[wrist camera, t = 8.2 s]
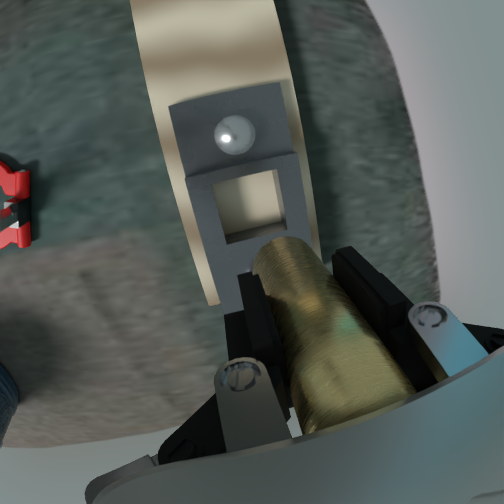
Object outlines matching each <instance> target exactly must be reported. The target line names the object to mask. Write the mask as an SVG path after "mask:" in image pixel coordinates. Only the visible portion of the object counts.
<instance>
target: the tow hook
mask: <svg viewBox="0 0 504 504" xmlns="http://www.w3.org/2000/svg"><path fill="white" fill-rule="evenodd" d="M0 185H1V186H2V188H3V190H4V192H5V194H6V195H10V196H15V197H14V198H12V199H10V200H7V201H5V202H4V209H3V210H1V211H0V249H2V248H5V247H6V246H7V245H9V244H10V243H11V242H12V243H17V244H18V247H21V248H25V247H29V246H30V245H31V232H30V220H31V198H30V196H29V189H30V170H26V169H21V170H17V171H15V172H12V171H11V169H10V168H9V167H8V166H7V165H6V164H5V163H3V162H2V161H0Z"/></svg>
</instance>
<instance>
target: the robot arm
mask: <svg viewBox="0 0 504 504" xmlns="http://www.w3.org/2000/svg"><path fill="white" fill-rule="evenodd" d="M332 266H333V276H334V278H335V279H336V280H337V282H338V283H339V284H340V286H341V287H342V288H343V290H344V291H345V292H346V294H347V295H348V296H349V297H350V299H351V300H352V301H353V303H354V304H355V305H356V307H357V308H358V309H359V311H360V312H361V314H362V315H363V316H364V318H365V319H366V320H367V322H368V323H369V324H370V326H371V327H372V328H373V330H374V331H375V333H376V334H377V335H378V337H379V338H380V339H381V341H382V342H383V344H384V345H385V346H386V348H387V349H388V351H389V352H390V353H391V355H392V356H393V358H394V359H395V360H396V362H397V363H398V365H399V366H400V368H401V369H402V370H403V372H404V373H405V375H406V376H407V378H408V379H409V380H410V382H411V383H412V385H413V386H414V388H415V389H416V391H417V392H418V393H416V394H414V395H412V396H410V397H407V398H405V399H403V400H401V401H398V402H396V403H394V404H391V405H389V406H386V407H384V408H381V409H379V410H376V411H374V412H371V413H369V414H366V415H363V416H361V417H358V418H355V419H352V420H349V421H347V422H344V423H341V424H338V425H335V426H332V427H329V428H325V429H322V430H319V431H316V432H312V433H309V434H305V435H302V436H299V437H295V438H292V436H291V434H290V431H289V428H288V425H287V421H288V420H289V419H290V417H291V416H290V411H289V408H292V407H294V405H293V402H292V399H291V395H290V392H289V389H288V386H287V382H286V370H287V368H286V363H285V358H284V353H283V348H282V344H281V340H280V336H279V333H278V330H277V327H276V324H275V321H274V318H273V315H272V312H271V309H270V306H269V303H268V300H267V297H266V294H265V291H264V288H263V285H262V282H261V279H260V276H259V274H255V275H253V274H252V271H251V272H247V273H243V274H238V275H237V277H238V282H239V287H240V292H241V297H242V302H243V307H244V310H241V311H237V312H232V313H228V314H224V320H225V330H226V339H227V348H228V357H229V361H228V362H227V363H225V364H224V365H222V366H221V367H220V368H219V369H218V370H217V372H216V374H215V376H214V386H215V392H216V393H215V394H214V395H213V396H212V397H211V398H210V399H209V400H208V401H207V402H206V403H205V404H204V405H203V406H202V407H201V408H200V409H198V410H197V411H196V412H195V413H194V414H193V415H192V416H191V417H190V418H189V419H188V420H187V421H186V422H185V423H184V424H183V425H182V426H180V427H179V429H177V430H176V431H175V432H174V433H173V434H172V435H171V436H170V437H169V438H168V439H166V440H165V441H164V443H163V444H162V445H161V447H160V449H159V451H158V454H156V455H154V456H152V457H150V456H149V455H146V456H144V457H142V458H140V459H137V460H135V461H133V462H131V463H129V464H126V465H124V466H122V467H120V468H118V469H116V470H113V471H111V472H109V473H106V474H104V475H101V476H99V477H97V478H95V479H93V480H92V481H91V482H90V483H89V484H88V486H87V487H86V491H85V500H86V503H87V504H504V330H503V329H499V328H492V327H485V326H479V325H472V324H466V323H461V322H460V321H459V320H458V319H457V317H456V316H455V315H454V314H453V313H452V312H451V311H450V310H449V309H448V308H447V307H446V306H444V305H442V304H440V303H437V302H422V303H418V304H416V305H414V304H413V303H412V302H411V301H410V300H409V299H408V298H407V297H406V296H405V295H404V294H403V293H402V292H401V291H400V290H399V289H398V288H397V287H396V286H395V285H394V284H393V283H392V282H391V281H390V280H389V279H388V278H387V277H385V276H384V275H383V274H382V273H379V272H378V271H377V270H376V269H375V268H374V267H373V266H372V265H371V264H370V263H369V262H368V261H367V260H365V259H364V258H363V257H362V256H361V255H360V254H359V253H358V252H357V251H356V250H355V249H354V248H353V247H351V246H348V247H345V248H341V249H337V250H336V254H333V255H332Z"/></svg>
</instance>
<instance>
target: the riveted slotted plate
mask: <svg viewBox="0 0 504 504" xmlns="http://www.w3.org/2000/svg"><path fill="white" fill-rule="evenodd" d="M168 109H169V113H170V117H171V121H172V125H173V130H174V134H175V138H176V142H177V146H178V150H179V154H180V158H181V161H182V165H183V169H184V173H185V183H186V187H187V190H188V194H189V198H190V201H191V205H192V209H193V212H194V216H195V219H196V223H197V226H198V230H199V233H200V237H201V240H202V244H203V247H204V251H205V254H206V257H207V261H208V264H209V268H210V271H211V274H212V278H213V281H214V284H215V287H216V291H217V294H218V297H219V300H220V303H221V307H222V310H223V313H224V314H228V313H232V312H237V311H241V310H244V307H243V302H242V297H241V292H240V287H239V282H238V277H237V275H238V274H243V273H247V272H251V271H252V274H253V263H254V259H255V257H256V255H257V253H258V252H259V250H260V249H261V248H262V247H263V246H264V245H265V244H266V243H268V242H269V241H271V240H273V239H276V238H279V237H284V236H290V237H296V238H299V239H301V240H303V241H305V242H306V243H307V244H308V245H309V246H310V247H311V248H312V241H311V234H310V227H309V220H308V213H307V206H306V200H305V193H304V187H303V181H302V175H301V169H300V163H299V158H298V153H297V152H294V151H293V145H292V140H291V134H290V129H289V124H288V119H287V114H286V109H285V104H284V99H283V94H282V90H281V85H280V82H277V83H271V84H265V85H259V86H253V87H247V88H242V89H237V90H232V91H227V92H222V93H218V94H213V95H209V96H205V97H200V98H196V99H192V100H188V101H185V102H181V103H177V104H174V105H170V106H168ZM270 170H272V174H273V179H274V184H275V190H276V195H277V200H278V206H279V211H280V217H281V221H279V222H275V223H271V224H267V225H263V226H259V227H254V228H250V229H246V230H242V231H238V232H234V233H230V234H226V235H225V233H224V230H223V226H222V222H221V218H220V214H219V210H218V206H217V202H216V198H215V194H214V190H213V186H212V184H214V183H218V182H222V181H226V180H231V179H235V178H239V177H243V176H248V175H252V174H256V173H261V172H265V171H270ZM312 250H313V248H312ZM253 275H254V274H253Z"/></svg>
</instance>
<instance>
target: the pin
mask: <svg viewBox="0 0 504 504" xmlns="http://www.w3.org/2000/svg"><path fill="white" fill-rule="evenodd" d="M253 274H254V275H255V274H259V276H260V279H261V282H262V285H263V288H264V291H265V294H266V297H267V300H268V303H269V306H270V309H271V312H272V315H273V318H274V321H275V324H276V327H277V330H278V333H279V336H280V340H281V344H282V348H283V353H284V358H285V363H286V368H287V370H286V382H287V386H288V389H289V392H290V395H291V399H292V402H293V405H294V408H295V411H296V415H297V418H298V421H299V425H300V428H301V431H302V434H303V435H305V434H309V433H312V432H316V431H319V430H322V429H325V428H329V427H332V426H335V425H338V424H341V423H344V422H347V421H349V420H352V419H355V418H358V417H361V416H363V415H366V414H369V413H371V412H374V411H376V410H379V409H381V408H384V407H386V406H389V405H391V404H394V403H396V402H398V401H401V400H403V399H405V398H407V397H410V396H412V395H414V394H416V393H418V392H417V391H416V389H415V388H414V386H413V385H412V383H411V382H410V380H409V379H408V378H407V376H406V375H405V373H404V372H403V370H402V369H401V368H400V366H399V365H398V363H397V362H396V360H395V359H394V358H393V356H392V355H391V353H390V352H389V351H388V349H387V348H386V346H385V345H384V344H383V342H382V341H381V339H380V338H379V337H378V335H377V334H376V333H375V331H374V330H373V328H372V327H371V326H370V324H369V323H368V322H367V320H366V319H365V318H364V316H363V315H362V314H361V312H360V311H359V309H358V308H357V307H356V305H355V304H354V303H353V301H352V300H351V299H350V297H349V296H348V295H347V294H346V292H345V291H344V290H343V288H342V287H341V286H340V284H339V283H338V282H337V280H336V279H335V278H334V276H333V275H332V274H331V273H330V271H329V270H328V269H327V267H326V266H325V265H324V264H323V262H322V261H321V260H320V258H319V257H318V256H317V255H316V253H315V252H314V251H313V250H312V248H311V247H310V246H309V245H308V244H307V243H306V242H305V241H303V240H301V239H299V238H296V237H290V236H284V237H279V238H276V239H273V240H271V241H269V242H268V243H266V244H265V245H264V246H263V247H262V248H261V249H260V250H259V252H258V253H257V255H256V257H255V259H254V263H253Z"/></svg>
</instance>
